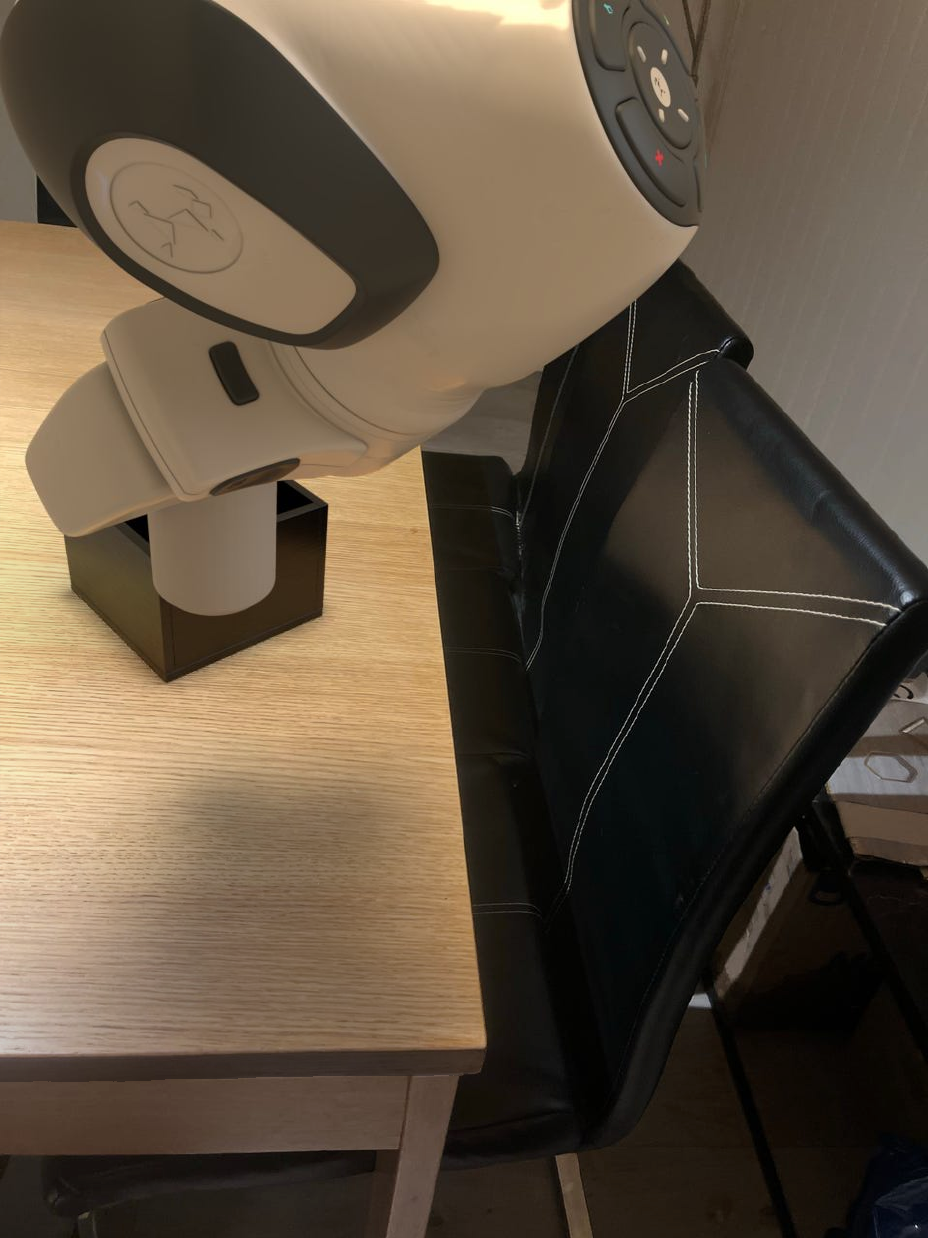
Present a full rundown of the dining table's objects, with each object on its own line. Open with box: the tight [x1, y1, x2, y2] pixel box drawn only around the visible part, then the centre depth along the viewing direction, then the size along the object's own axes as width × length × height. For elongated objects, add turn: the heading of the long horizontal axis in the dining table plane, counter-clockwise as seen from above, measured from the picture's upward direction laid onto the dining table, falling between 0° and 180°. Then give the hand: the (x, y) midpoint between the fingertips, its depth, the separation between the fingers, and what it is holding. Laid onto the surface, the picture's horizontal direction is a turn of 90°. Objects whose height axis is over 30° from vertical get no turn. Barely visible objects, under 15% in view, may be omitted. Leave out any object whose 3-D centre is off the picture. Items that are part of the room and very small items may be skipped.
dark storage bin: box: [63, 479, 329, 683], centre depth 72 cm, size 15×15×11 cm
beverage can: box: [148, 481, 277, 616], centre depth 46 cm, size 6×6×12 cm
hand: (204, 477), depth 46 cm, fingers closed on beverage can, 6 cm apart
